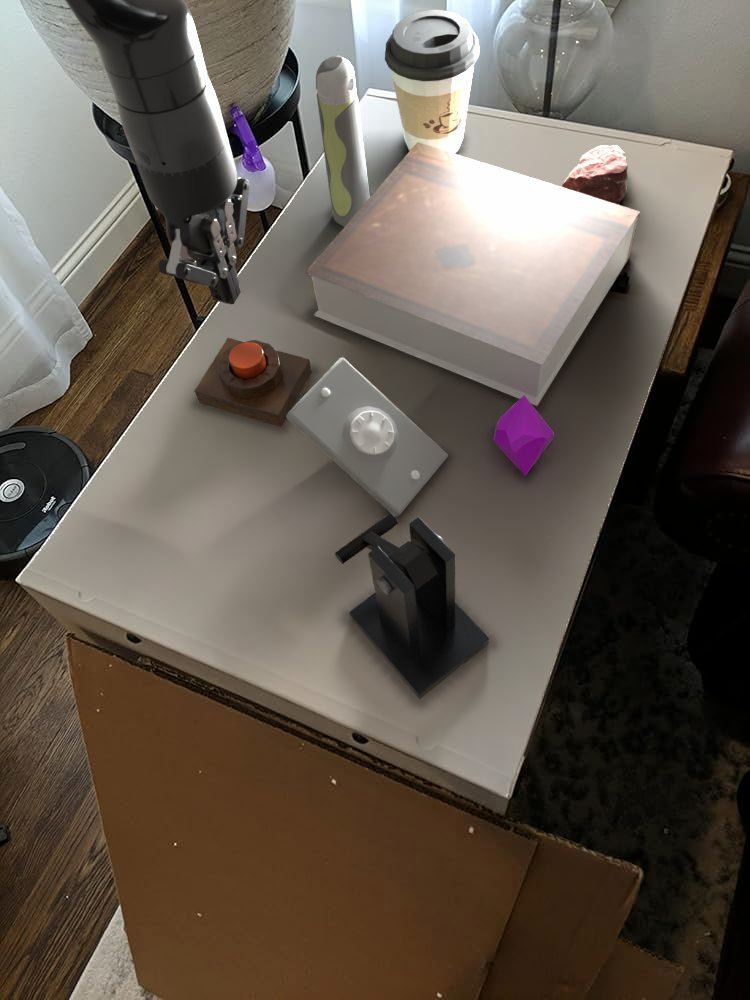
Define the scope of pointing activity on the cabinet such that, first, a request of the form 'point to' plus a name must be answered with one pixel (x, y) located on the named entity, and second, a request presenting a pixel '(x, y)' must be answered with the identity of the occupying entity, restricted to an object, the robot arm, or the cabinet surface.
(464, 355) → the book
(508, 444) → the crystal
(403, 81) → the coffee cup
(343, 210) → the grey and green cylinder
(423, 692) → the bracket
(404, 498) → the light switch
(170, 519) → the cabinet surface
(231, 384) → the control block
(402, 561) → the lever
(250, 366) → the button
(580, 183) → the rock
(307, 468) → the cabinet surface
